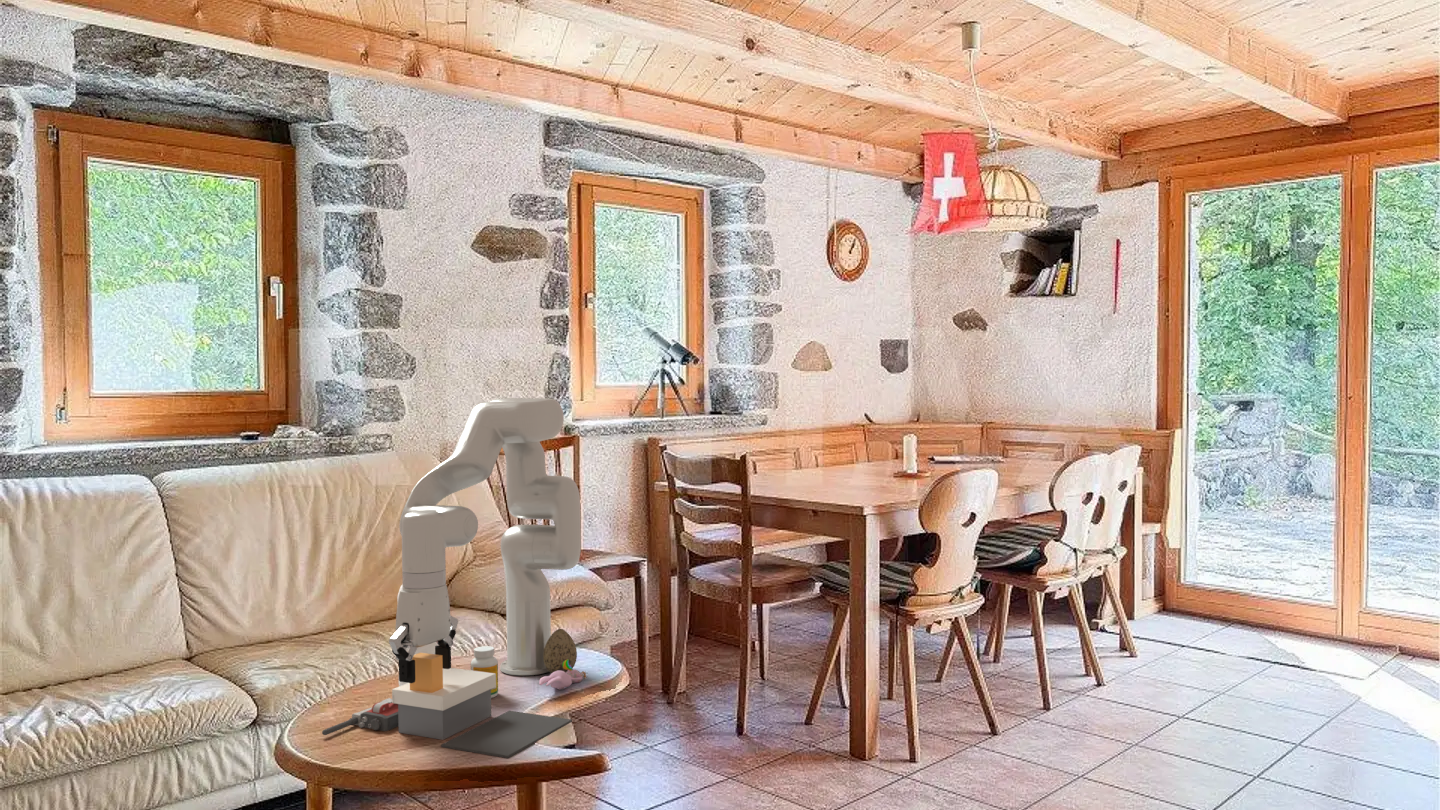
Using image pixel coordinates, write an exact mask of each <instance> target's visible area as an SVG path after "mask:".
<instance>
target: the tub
mask: <svg viewBox="0 0 1440 810" xmlns="http://www.w3.org/2000/svg"><path fill="white" fill-rule="evenodd" d="M490 717H492V698H491V689H490V690H487V691H485V692H483V693H481V694H479V695H476V696H474V697H472V698H470V699H468V700H465V701H463V702H461V703H459V704H457V705H455V706H452V707H450V708H448V709H446V710H444V711H442V710H435V709H429V708H422V707H415V706H409V705H402V704H398V723H399V726H398V734H399V733H400V734H405V735H411V736H418V737H425V738H430V739H437V740H442V741H443V740H445V739H448V738H450V737H452V736H454V735H456V734H458V733H460V732H462V731H464V730H466V729H468V728H470V727H472V726H474V725H476V724H478V723H480V722H482V721H484V720H486V719H489V718H490Z"/></svg>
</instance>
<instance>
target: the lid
mask: <svg viewBox="0 0 1440 810" xmlns="http://www.w3.org/2000/svg"><path fill="white" fill-rule="evenodd" d="M412 660H415V682H414V683H407V684H404V685H402V686H399V685H398V686H397V687H394V688H392V689H391V696H392V697H391V699H392V703H395V704H402V705H409V706H415V707H422V708H429V709H435V710H442V711H444V710H446V709H448V708H450V707H452V706H455V705H457V704H459V703H461V702H463V701H465V700H468V699H470V698H472V697H474V696H476V695H479V694H481V693H483V692H485V691H487V690H490V689H492V688H494V687H496V673H488V672H480V671H473V670H471V669H465V668H464V669H462V668H456V667H451V668H450V669H443V660H442V655H436V654H428V653H418V654H415V655H414V656H413V658H412Z"/></svg>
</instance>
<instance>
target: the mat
mask: <svg viewBox="0 0 1440 810" xmlns="http://www.w3.org/2000/svg"><path fill="white" fill-rule="evenodd" d="M570 723H573V719H571V718H564V717H563V718H562V717H556V716H549V715H543V714H537V713H529V712H522V711H516V710H508V711H505V712H504V713H501V714H500V715H497V716H495V717H494V718H492V719H490V720H488V721H485V722H484V723H482V724H479V725H478V726H476V727H474V728H472V729H469V730H467V731H466V732H464V733H462V734H460V735H458V736H455V737H453V738H451V739H450V740H448V741H447V740H446V741H445V742H444V743H442V744H440V747H441V748H446V749H451V750H456V751H457V750H458V751H464V752H471V753H475V754H481V755H487V756H493V757H499V758H506V759H509V758H511V757H512V756H515V755H516V754H517V753H518V754H519V752H521V751H523V750H525V749H526V748H528V747H530V746H533V744H535V743H538V742H540V741H541V740H542V739H545V737H548V736H550V735H552V734H553V733H554V732H557V731H558V730H560V729H562V728H563V727H565V726H567V725H569V724H570Z"/></svg>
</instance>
